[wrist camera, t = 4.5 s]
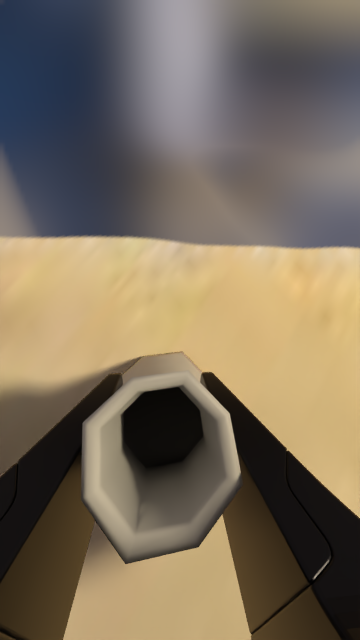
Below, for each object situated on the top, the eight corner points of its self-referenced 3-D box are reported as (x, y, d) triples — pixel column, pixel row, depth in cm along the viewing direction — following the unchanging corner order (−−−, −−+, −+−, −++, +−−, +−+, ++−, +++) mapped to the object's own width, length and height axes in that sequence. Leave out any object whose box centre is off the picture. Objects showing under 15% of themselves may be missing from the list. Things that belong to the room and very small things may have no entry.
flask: (133, 493, 12) (-6, 970, 2) (94, 379, 13) (-72, 364, 4) (235, 431, 13) (420, 553, 4) (187, 336, 15) (226, 251, 5)
